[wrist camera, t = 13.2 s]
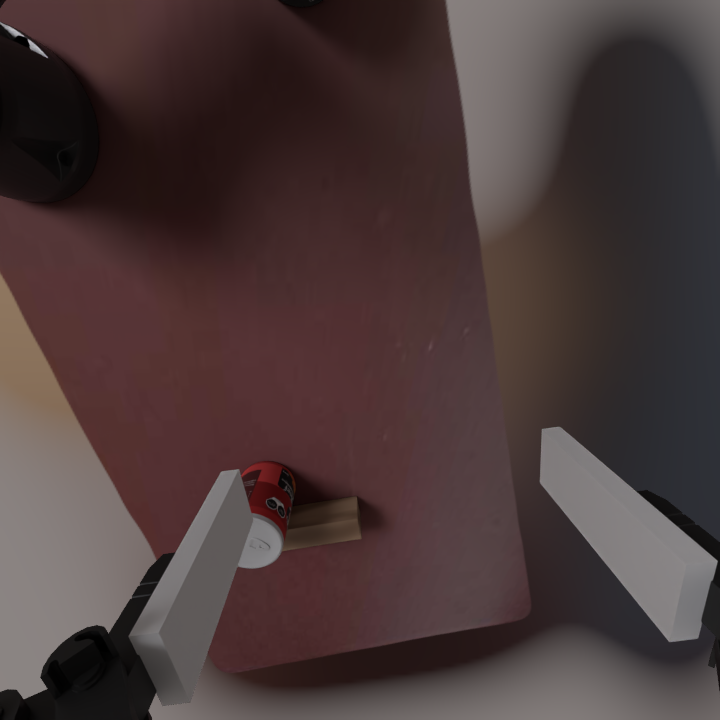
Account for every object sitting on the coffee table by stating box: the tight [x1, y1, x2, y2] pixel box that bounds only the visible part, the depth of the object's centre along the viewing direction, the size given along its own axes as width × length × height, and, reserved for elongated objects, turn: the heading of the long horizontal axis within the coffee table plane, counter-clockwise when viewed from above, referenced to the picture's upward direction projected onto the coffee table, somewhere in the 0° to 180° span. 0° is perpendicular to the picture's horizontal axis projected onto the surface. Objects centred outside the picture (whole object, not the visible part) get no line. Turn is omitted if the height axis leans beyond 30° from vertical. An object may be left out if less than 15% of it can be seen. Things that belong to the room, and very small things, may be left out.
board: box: [282, 496, 362, 551], centre depth 50 cm, size 4×24×4 cm, turn 99°
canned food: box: [238, 461, 296, 568], centre depth 45 cm, size 8×8×11 cm
